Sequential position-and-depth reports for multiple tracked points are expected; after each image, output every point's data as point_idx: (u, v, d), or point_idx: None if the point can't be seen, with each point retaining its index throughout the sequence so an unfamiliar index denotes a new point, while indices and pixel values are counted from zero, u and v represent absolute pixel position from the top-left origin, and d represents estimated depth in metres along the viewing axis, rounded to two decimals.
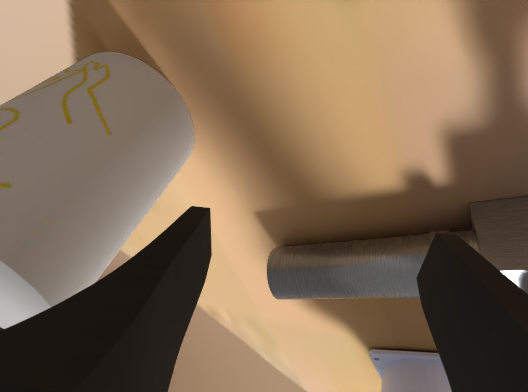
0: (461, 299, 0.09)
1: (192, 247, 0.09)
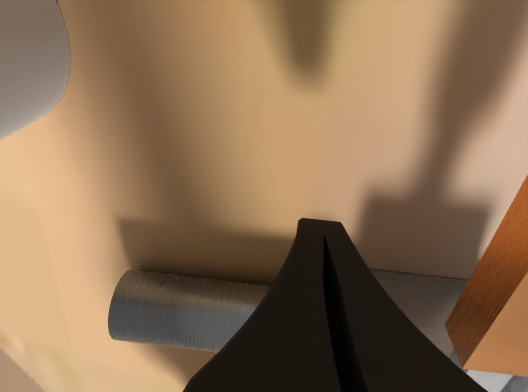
0: (326, 283, 0.09)
1: None
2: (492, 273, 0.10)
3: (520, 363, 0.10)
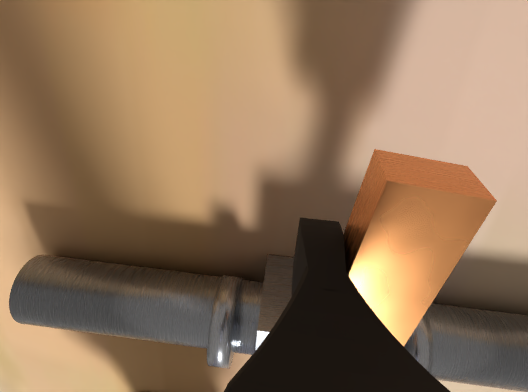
0: None
1: None
2: (346, 248, 0.10)
3: None
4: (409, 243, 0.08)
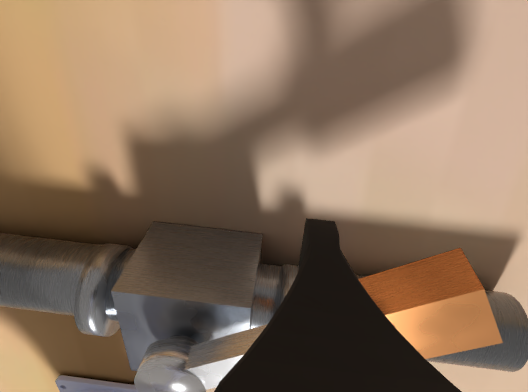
0: None
1: None
2: (372, 292, 0.11)
3: None
4: (434, 328, 0.10)
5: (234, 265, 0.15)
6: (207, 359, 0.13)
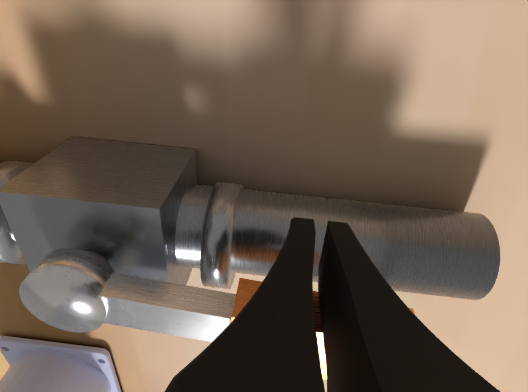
0: (334, 284, 0.09)
1: None
2: None
3: None
4: None
5: (153, 172, 0.13)
6: (132, 296, 0.11)
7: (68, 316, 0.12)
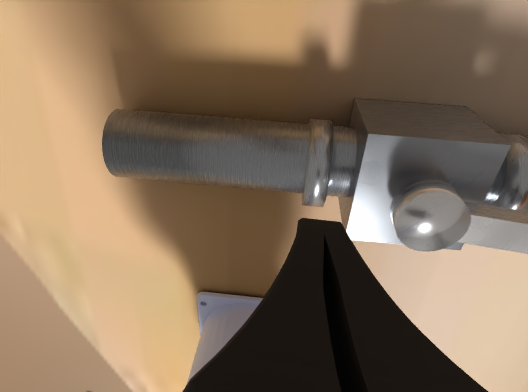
0: (326, 283, 0.09)
1: None
2: None
3: None
4: None
5: (463, 122, 0.16)
6: (493, 216, 0.14)
7: (429, 235, 0.14)
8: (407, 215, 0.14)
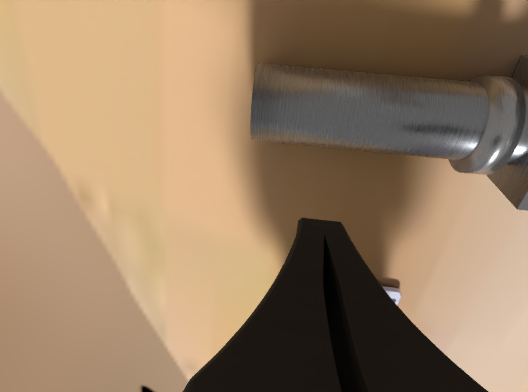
0: (326, 283, 0.09)
1: None
2: None
3: None
4: None
5: None
6: None
7: None
8: None
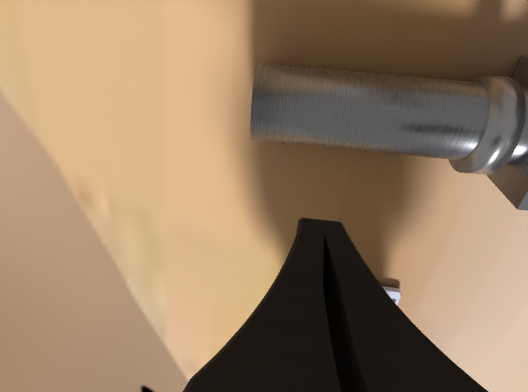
0: (326, 283, 0.09)
1: None
2: None
3: None
4: None
5: None
6: None
7: None
8: None
